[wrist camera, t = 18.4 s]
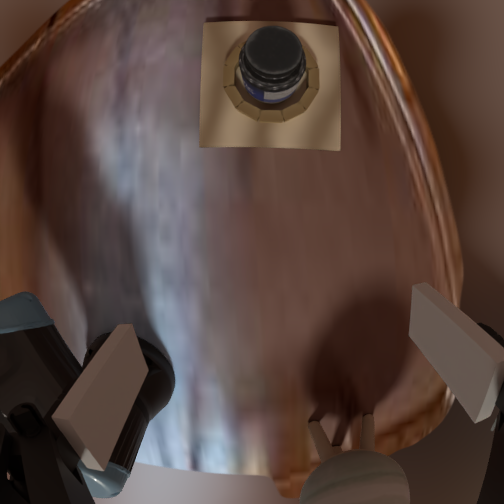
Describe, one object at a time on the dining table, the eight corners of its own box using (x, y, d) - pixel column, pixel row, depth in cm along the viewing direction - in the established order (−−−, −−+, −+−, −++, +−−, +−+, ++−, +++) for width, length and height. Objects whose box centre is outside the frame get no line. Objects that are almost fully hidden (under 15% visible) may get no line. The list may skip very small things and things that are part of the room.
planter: (334, 463, 51) (349, 554, 29) (275, 436, 48) (277, 546, 27) (398, 418, 47) (436, 513, 25) (344, 384, 44) (379, 503, 23)
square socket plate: (201, 147, 35) (196, 146, 32) (205, 26, 31) (201, 17, 28) (337, 151, 35) (344, 150, 32) (336, 30, 30) (341, 21, 27)
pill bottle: (237, 63, 31) (227, 26, 21) (289, 51, 30) (299, 11, 20) (251, 111, 33) (246, 90, 22) (304, 99, 32) (321, 74, 22)
